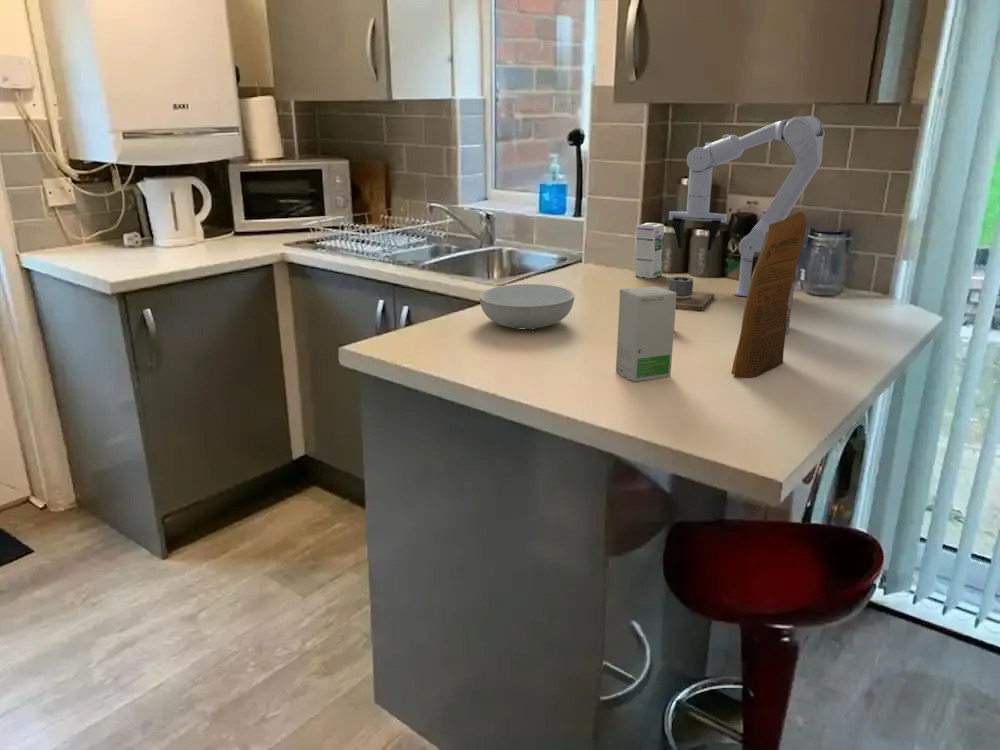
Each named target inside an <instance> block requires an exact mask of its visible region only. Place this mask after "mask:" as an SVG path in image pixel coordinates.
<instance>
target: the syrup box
mask: <svg viewBox="0 0 1000 750" xmlns="http://www.w3.org/2000/svg"><path fill="white" fill-rule="evenodd" d="M664 234H665V224H663V223H660V222H659V223H658V222H645V223H643V224H637V225H636V235H635V236H636V237H635V259H634V260H635V262H634V276H635V277H636V276H638V278H642V277H645V278H644V279H650V278H653V279H655V278H657V276H658V277H660V275H661V276H662V275H663V259H664V258H663V256H664V240H665V239H664V237H665V235H664Z"/></svg>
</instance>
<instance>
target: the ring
mask: <svg viewBox="0 0 1000 750" xmlns="http://www.w3.org/2000/svg"><path fill="white" fill-rule="evenodd" d="M678 280H683V281H678ZM693 285H694V279H693V278H692V277H687V276H672V277H669V279H668V290H670V291H673V292H676V293H677V294H676V296H689V295H692V292H693V287H694V286H693Z"/></svg>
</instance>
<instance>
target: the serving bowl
mask: <svg viewBox="0 0 1000 750" xmlns="http://www.w3.org/2000/svg"><path fill="white" fill-rule="evenodd" d="M478 298H479V303H480V307H481V309H482V312H483V313H484V315H485V316H487V318H488V319H489V320H490V321H492V322H494V323H496V324H498V325H501V326H502V327H503V326H504V327H508V328H509V327H510V328H512V327H513V328H512V329H516V328H525V329H524V330H533V329H532V328H537V329H541V328H544V327H548V326H552V325H554V324H557V323H559V322H561V321H562V320H564V319H565V318H566V317H567V316H568V314H570V312H571V310H572V308H573V305H574V301H575V294H574V292H573V291H571V290H570V289H567V288H566V287H562V286H556V285H550V284H539V283H521V284H520V283H519V284H517V283H516V284H508V285H501V286H495V287H492V288H488V289H486V290H484V291H482V292H481V293H480V294H479V297H478ZM540 327H541V328H540Z"/></svg>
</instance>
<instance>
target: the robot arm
mask: <svg viewBox="0 0 1000 750" xmlns="http://www.w3.org/2000/svg"><path fill="white" fill-rule="evenodd" d="M825 135H826V133H825V130H824V128H823V124H822V121H821V120H820V119H819V118H818V117H816V116H814V115H805V116H794V117H792V118H789V119H787V118H786V119H783V120H778V121H776V122H772V123H770V124H768V125H766V126H764V127H761V128H758V129H757V130H754V131H752V132H749V133H747V134H745V135H742V136H738V135H736V134H730V133H726V134H724V135H722V138H721V139H717V140H716V141H713V142H711V141H708V142H705V143H704V144H705V146H702V147H701V146H695V147H694V148H693V149H692V150H690V151H689V152H688V154H687V156H686V164H687V167H688V168H689V174H688V184H687V197H686V198H687V199H686V211H682V210H681V211H676V210H675V211H673V210H672V211H671V210H670V211H669V212H668V220H671V227H672V228H673V231H674V233H675V236H676V241H677V247H678V249H682V248H683V247H684V246H683V245H684V231H685V224H686V221H694V222H695V221H696V222H697V221H698V222H709V224H708V242H707V251H711V250H713V246H714V243H715V239H716V237H717V234H718V232H719V231H720V229H721V228H722V225H723V224H725V223H726V222H727V220H728V219H727V218H728V217H727V216H728V213H717V212H710V206H711V196H712V195H711V193H712V182H713V181H712V180H713V169H714V168H715V166H716V167H717V166H720V165H722V164H725V163H727V162H730V161H733V160H736V159H738V158H741V157H742V155H743V153H744V151H745V150H748V149H749V148H753V147H756V146H758V145H762V144H765V143H768V142H771V141H774V140H777V141H780V142H781V141H785V142H786V143H787V145H789V147H790V148H791V150H792V152H793V155H794V158H795V161H796V162H795V164H794V165H793V167H792V169H791V170H790V172H789V173H788V175H787V177H786V178H785V180H784V182H783V183H782V185H781V187H780V188H779V189H778V191H777V193H776V194H775V196H774V198H773V200H772V201H771V203H770V204H769V206H768V208H767V209H766V211H765V213H764V214H763V216H762V218H761V219H760V220H759V221H758V222H757V223H756V224H755V225H754V227H752V229H751V231H750V232H749V233H748V234H746V235H744V236H743V238H741V239H740V241H739V244H738V251H739V254H740V263H739V273H738V274H739V276H738V284H737V285H738V286H737V289H736V290H735V291H734V293H733V296H739V297H747V296H748V291H749V286H750V278H751V270H752V260H753V255H754V252H761V248H762V246H763V243H764V240H765V236H766V232H768V230H769V225H771V224H773V223H777V222H779V221H782V220H784V219H786V218H788V217H789V216H790V213H791V211H792V210H793V208H794V207H795V205H796V204H797V202H798V201H799V199H800V197H801V196H802V195H803V193H804V191H805V190H806V188H807V187H808V185H809V183H810V182H811V180H812V178H813V177H814V175H815V174H816V173H817V171H818V169H819V168H820V166H821V164H822V162H823V148H824V138H825Z"/></svg>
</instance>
